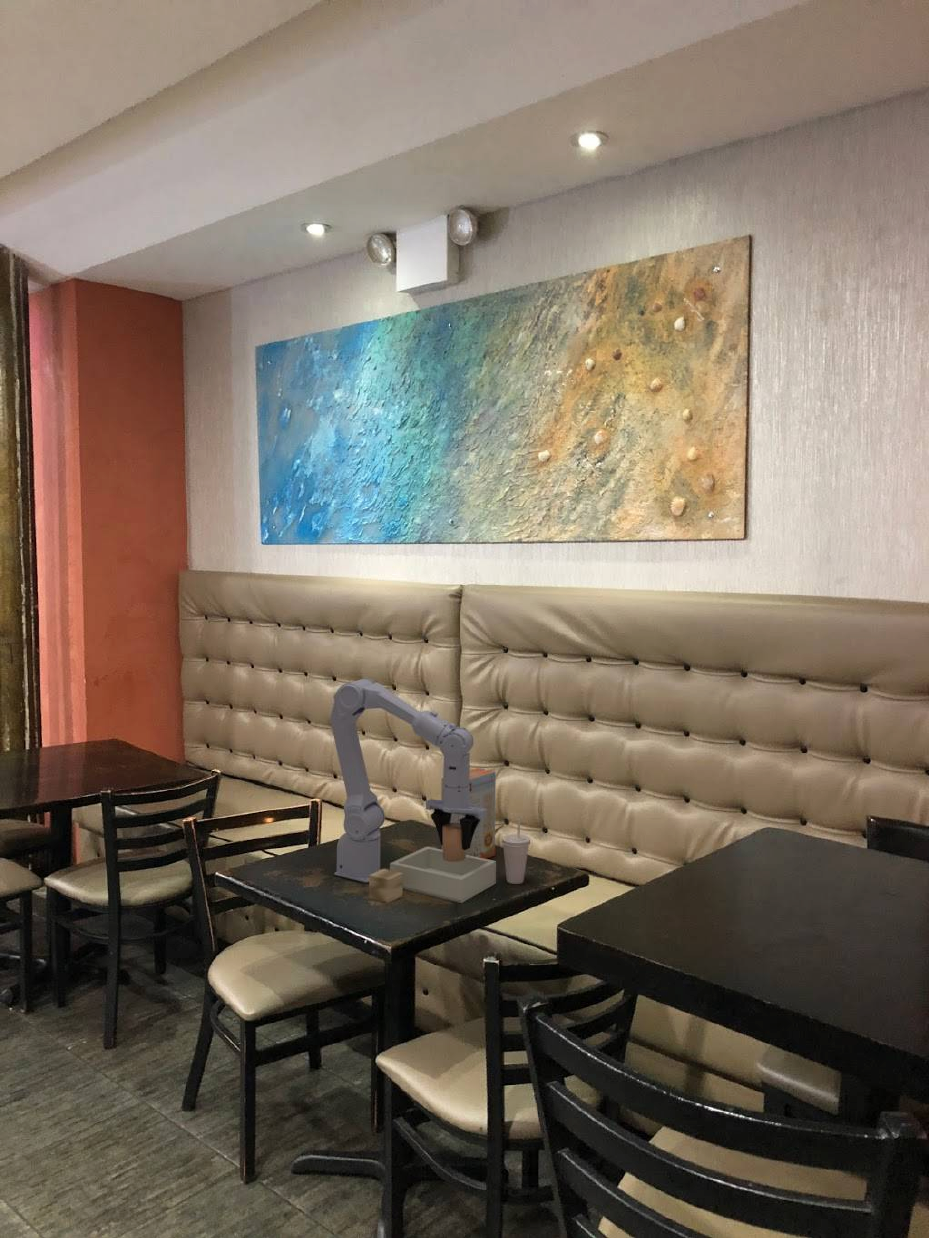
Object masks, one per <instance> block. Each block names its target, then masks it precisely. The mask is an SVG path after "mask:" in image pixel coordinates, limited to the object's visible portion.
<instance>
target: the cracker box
mask: <svg viewBox="0 0 929 1238" xmlns="http://www.w3.org/2000/svg"><path fill="white" fill-rule="evenodd" d="M441 800H443V777H442V778H441ZM469 804H472V805H474V806H477V807H480V808H484V809H487V818H485V819H483V820H480V822H479V824H478V825H477V827H476V830H475V832H474V835H473V838H472V841H471V846H470V848H469V849H467V850H466V855H469V856H474V857H479V858H483V859H489V858H491V857H494V856H495V855H496V771H495V770H491V769H490V770H489V769H485V768H479V767H478V768H477V767H476V768H474V769H470V785H469ZM464 817H465V816H464V815H459V814H453V813H452V815H451V819H450V823H460V819H461V818H464ZM441 850H443V845H441Z"/></svg>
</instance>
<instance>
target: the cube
mask: <svg viewBox="0 0 929 1238" xmlns="http://www.w3.org/2000/svg"><path fill="white" fill-rule="evenodd" d="M368 883H369V888H368V892H369V893H368V894H369V895H368V899H372V900H375V901H380V902H383V903H387V904H389V903H391V902H393V901H396V900H397V899H398V898H401V897H403V890H404V889H403V873H400V872H396V871H391V870H390V869H387V868H382V870H380V871H378V872H375V873H373V874H371V875H369V882H368Z"/></svg>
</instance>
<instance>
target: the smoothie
mask: <svg viewBox="0 0 929 1238" xmlns="http://www.w3.org/2000/svg"><path fill="white" fill-rule="evenodd" d="M516 830H517V831H516V832H517V834H513V833H512V834H506V835H504V836H502V837H501V844H502V846H503V847H502V849H503V856H504V857H503V858H504V865H505V874H506V875H505V877H506V881H507V883H509V884H512V885H513V884H515V885H517V884H518V885H519V884H522V883H524V879H525V873H526V865H527V859H528V854H529V845H531V838H530V837H529V836H527V835H524V834H521V819H520V818H518V819H517V829H516Z"/></svg>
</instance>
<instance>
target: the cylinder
mask: <svg viewBox="0 0 929 1238" xmlns="http://www.w3.org/2000/svg"><path fill="white" fill-rule="evenodd" d="M442 828H443V859H444V860H445V861H449V862H459V861H463V860H465V859H466V850H463V849H462V830H461V825H460V823H448V824H445V825H443V826H442Z"/></svg>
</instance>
